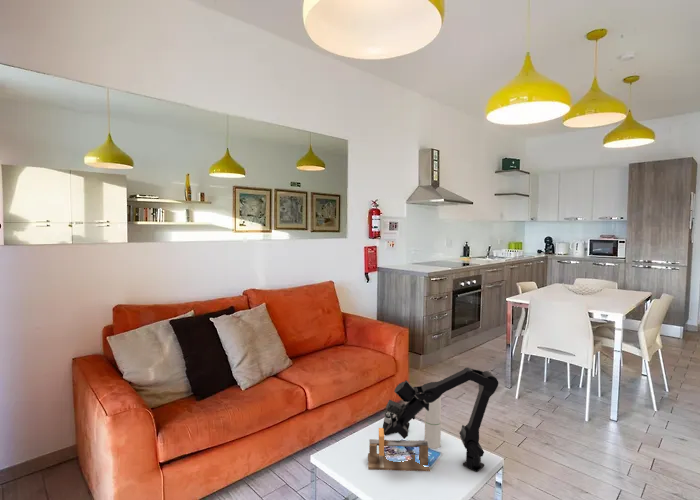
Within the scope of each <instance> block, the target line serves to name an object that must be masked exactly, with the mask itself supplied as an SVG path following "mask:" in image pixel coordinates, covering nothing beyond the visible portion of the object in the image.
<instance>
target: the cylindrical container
mask: <svg viewBox="0 0 700 500" xmlns="http://www.w3.org/2000/svg"><path fill="white" fill-rule="evenodd" d="M425 402H426V401H425ZM441 435H442V395H441V396H440V397H439V398H438V399H437V400H435V401H434V402H432V403H429V411H427V410H426V409H425V408H424V441H427V442H428V449H429V448H430V449H434V450H436V449H440V447H441V445H442V444H441V442H442V439H441V438H442V437H441Z"/></svg>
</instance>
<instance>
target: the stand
mask: <svg viewBox="0 0 700 500" xmlns="http://www.w3.org/2000/svg"><path fill="white" fill-rule="evenodd" d="M370 440H378V439H375V438H374V439H370V438H369V439H368V441H369V444H368V445H369V450H368V451H369V453H367V461H368V462H367V464H368V465H367V467H368V468H367V470H370V471H371V470H372V471H374V470H375V471H398V472H399V471H400V472H401V471H404V472H408V471H409V472H431V467H430V465H429V467H424V466H423V465H428V462H429V447H428V446H427V445H420V447H418V451H419V452H418V455H419V460H420V464H419V463H417V462H415V455H416V454H411V456H412V458H413V459H411V460H408V461H404V462H402V461H401V462H393V461H389V460H387V459H386V457H385V454H386V453H384V456H379V453H378V446H377V444H370Z"/></svg>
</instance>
